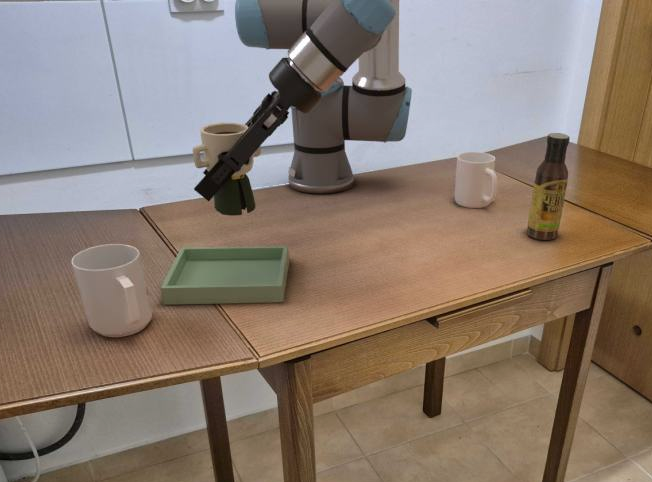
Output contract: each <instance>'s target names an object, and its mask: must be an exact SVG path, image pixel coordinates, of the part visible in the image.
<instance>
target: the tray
mask: <svg viewBox="0 0 652 482" xmlns="http://www.w3.org/2000/svg"><path fill="white" fill-rule="evenodd" d="M289 266H290V250H289V245H266V246H265V245H262V246H261V245H259V246H257V245H256V246H255V245H253V246H191V247H189V246H186V247H185V246H184V247H180V249H179V252H178V253H177V255H176V256H175V258H174V261H173V263H172V265H171V266H170V269H169V271H168V273H167V275H166V276H165V279H164V280H163V282H162V284H161V286H160V293H161V297H162V300H163V301H162V302H163V305H165V306H169V305H171V306H172V305H215V304H217V305H218V304H220V305H221V304H259V303H260V304H263V303H266V304H267V303H283V302H284V298H285V291H286V286H287V279H288V272H289Z"/></svg>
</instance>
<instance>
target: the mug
mask: <svg viewBox="0 0 652 482" xmlns="http://www.w3.org/2000/svg"><path fill="white" fill-rule="evenodd" d="M70 263H71V267H72V271H73V274H74V278H75V280H76V281H75V282H76V284H77V289H78V291H79V295H80V298H81V302H82V306H83V310H84V313H85V317H86V320H87V324H88V326H89V328H90V329H91V328H92V329H93V330H92V329H91V330H92V331H94V330H95V331H94V332H95V333H97V334H99V335H101V336H103V337H107V338H122V337H128V336H132V335H135V334H136V333H137V334H138V333H139V332H141V331H142V330H145V328H146V327H147V326H148V325H149V323H150V321H152V318H153V308H152V304H151V299H150V294H149V290H148V286H147V280H146V276H145V271H144V266H143V262H142V258H141V253H140V251H139V249H138V248H136V247H135V246H132V245H130V244H124V243H123V244H122V243H109V244H108V243H107V244H100V245H95V246H92V247H89V248H85V249H82V250H81V251H79V252H78V253H75V255H74V256H72V258H71V260H70ZM96 331H97V332H96ZM98 332H100V333H98ZM103 333H107V334H103ZM119 333H121V334H119Z"/></svg>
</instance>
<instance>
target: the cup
mask: <svg viewBox="0 0 652 482" xmlns="http://www.w3.org/2000/svg"><path fill="white" fill-rule="evenodd" d="M495 167H496V156H494V155H492V154H491V153H486V152H481V151H467V152H462V153H459V154H458V155H457V156H456V167H455V168H456V169H455V185H454V202H455V203H456V204H457V205H458V206H460V207H463V208H468V209H481V208H486V207H488V206H489V205H490V204H491V203H492V202H494V201H495V199H496V197H497V194H498V193H497V191H498V177H497V174H496V172H495Z"/></svg>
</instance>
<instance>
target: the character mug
mask: <svg viewBox="0 0 652 482" xmlns="http://www.w3.org/2000/svg"><path fill="white" fill-rule="evenodd" d="M248 128H249V127H248V126H247V125H245V123H238V122H218V123H217V122H216V123H211V124H207V125H205V126H203V127H201V129H200V132H199V133H200V139H201V144H199V145H195V146H193V147H192V155H193V162H194V166H195V168H196V169H203V168H205V169H206V168H207V170H208V171H210V170H211V169H212V167H213V166H214V165H215V164H216V163H217V162H218V161H219V160H220V158H219V157H218V155H219V154H220V153H221V154H222V155H223V156H224V155H226V154H227V153H228V151H229V150H230V149H231V148H232V147H233V146H234V144H235V143H236V142H237V141H238V140H239V138H240V137H241V136H242V135H243V134H244V132H245V131H246V130H247V129H248ZM201 152H203V159H204V160H202V159H201ZM261 153H262V149H261V146H260V147H259V148H258V149H257V150H256V151H255V152H254V154H253V155H252V156H251V157H250V158H249V159H248V160H247V162H246V163H245V164H244V165H243V166H242V167H241V170H240V171H238V172H235V173H234V174H233V175H232V176H231V178H230V179H229V180H228V181H227V182H226V183H225V184H224V185H223V186H222V187H221V189H220V190H219V191H218V192H217V193H216V194H215V195H214V196H213V200H214V201H213V202H214V203H213V204H214V210H216V212H218V213H219V214H221V215H223V216H230V217H231V216H232V217H233V216H242V215H243V210H244V211H245V210H246V213H247V214H250V213H252V212H254V211H255V209H256V207H257V206H256V202H255V201H256V200H255V197H254V192H253V188H252V185H251V181H250V178H249V176H248V175H247V174H248V173H249V172H251V171H252V169H253V166H254V158H257V157H260V156H261ZM233 159H234V158H233Z"/></svg>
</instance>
